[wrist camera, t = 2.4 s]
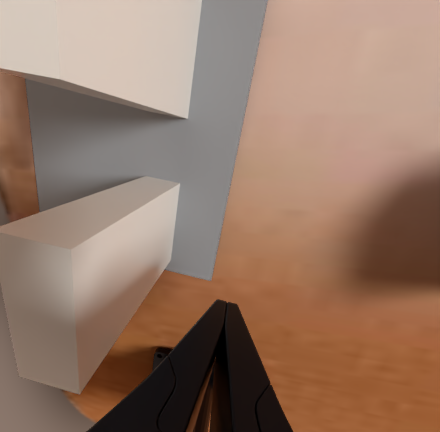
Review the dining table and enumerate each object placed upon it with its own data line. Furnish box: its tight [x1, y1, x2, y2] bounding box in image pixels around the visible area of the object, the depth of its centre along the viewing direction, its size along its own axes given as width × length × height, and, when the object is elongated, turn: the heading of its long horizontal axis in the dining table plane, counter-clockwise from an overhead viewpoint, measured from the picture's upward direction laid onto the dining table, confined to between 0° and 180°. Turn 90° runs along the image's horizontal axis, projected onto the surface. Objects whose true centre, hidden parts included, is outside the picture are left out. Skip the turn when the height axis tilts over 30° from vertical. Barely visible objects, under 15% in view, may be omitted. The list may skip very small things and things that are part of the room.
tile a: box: [0, 176, 180, 394], centre depth 11 cm, size 6×2×10 cm, turn 170°
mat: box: [25, 0, 268, 281], centre depth 15 cm, size 18×14×1 cm
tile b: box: [0, 0, 202, 119], centre depth 8 cm, size 6×2×10 cm, turn 170°
